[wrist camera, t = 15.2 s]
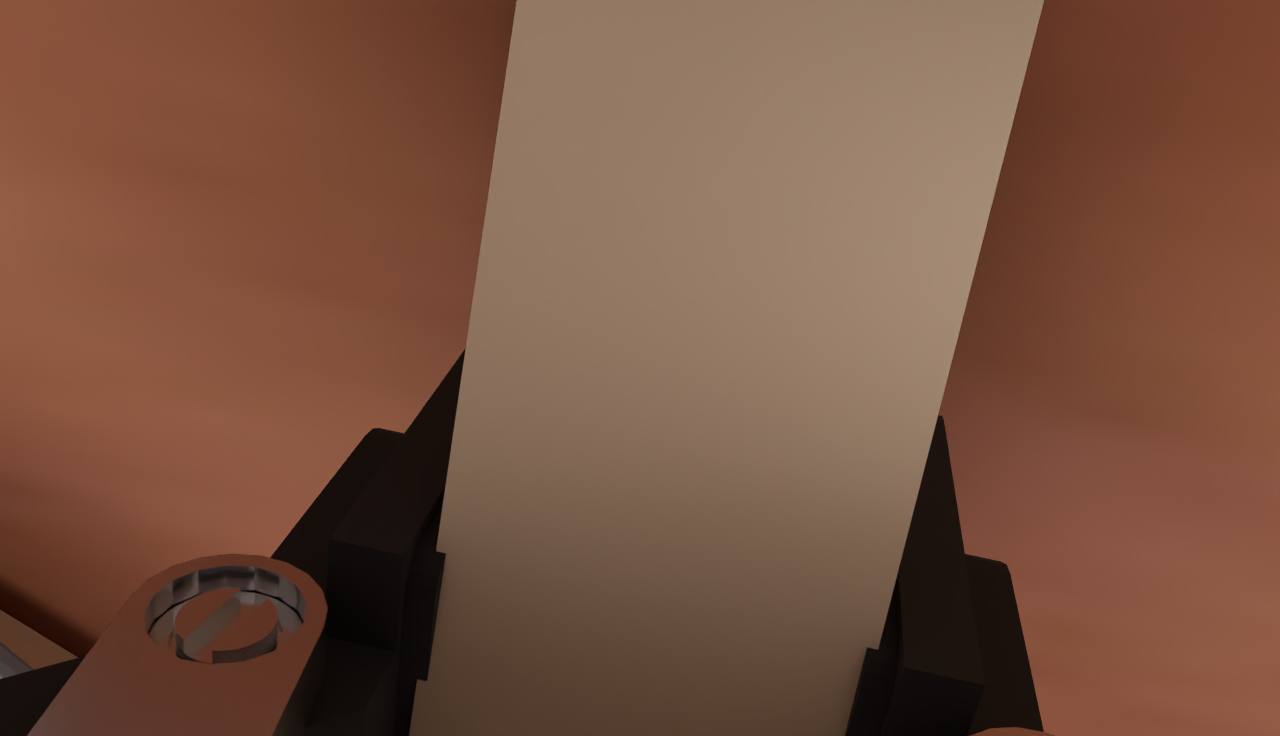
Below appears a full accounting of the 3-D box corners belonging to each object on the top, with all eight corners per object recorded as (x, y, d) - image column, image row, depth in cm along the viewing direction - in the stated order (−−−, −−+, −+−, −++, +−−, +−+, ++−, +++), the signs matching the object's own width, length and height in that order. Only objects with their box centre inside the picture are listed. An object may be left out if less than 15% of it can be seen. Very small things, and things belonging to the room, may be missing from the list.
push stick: (655, -126, 12) (556, -272, 7) (965, -71, 11) (1090, -184, 6) (479, 908, 15) (322, 1319, 10) (718, 966, 14) (681, 1418, 10)
